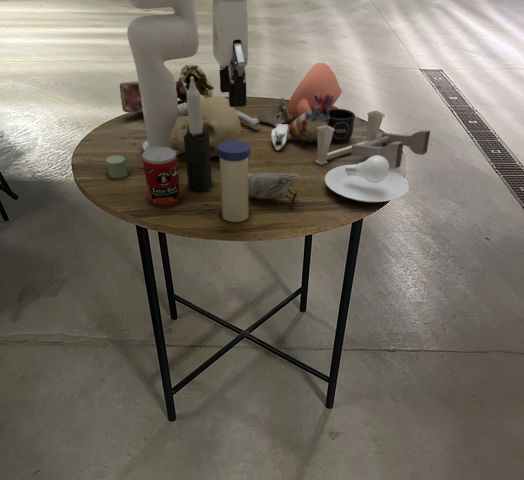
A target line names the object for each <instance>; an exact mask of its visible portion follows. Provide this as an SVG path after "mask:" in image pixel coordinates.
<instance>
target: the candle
mask: <svg viewBox="0 0 524 480" xmlns="http://www.w3.org/2000/svg"><path fill="white" fill-rule="evenodd" d="M190 80H191V81H190V86H189V90H188V92H187V102H186V103H187V104H188V115H187V116H189V124H188V127H189V128H190V129H189V130H187V131H186V134H185V135H184V145H185V152H184V154H185V155H184V156H185V163H186V175H187V184H188V186H187V187H188V190H190V191H197V192H198V191H199V192H202V193H203V192H204V193H205V192H207V191H209V190H210V188H212V186H213V179H212V178H213V177H212V162H211V161H212V160H211V157H210V142H209V133H208V132H206V130H204V129H202V118H201V104H200V93H199V91H198V90H197V89H196V86H195V83H194V77H192V76H191V77H190Z"/></svg>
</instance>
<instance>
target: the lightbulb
mask: <svg viewBox="0 0 524 480" xmlns="http://www.w3.org/2000/svg"><path fill="white" fill-rule="evenodd" d="M346 165H347V167H346V169H345V172H346V174H347V175H348V176H358V177H363V178H364V179H366V180H367V181H369V182H371V183H379V182H381V181H383V180H384V179H385V178H386V177H387V175H388V173H389V170H390V168H389V163H388V161H387V160H386V159H385V158H384V157H383V156H380V155H375V156H372V157H367V159H365V160H364V161H361V162H358V163H353V165H352V163H351V165H350V164H346Z"/></svg>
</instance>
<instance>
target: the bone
mask: <svg viewBox="0 0 524 480" xmlns="http://www.w3.org/2000/svg"><path fill="white" fill-rule="evenodd" d="M235 110H236V112H237V114H238V117H239V120H240V121H242V122H243V123H245V124H247V125H249V127H250V128H251V129H253V130H254V131H258V130H259V129H260V128H261V124H260V121H259V120H258V119H256V118H254V117H253V118H252V117H251V116H249V115H247V114H245V113H243V112H241V111H239V110H237V109H235Z"/></svg>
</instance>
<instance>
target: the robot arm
mask: <svg viewBox="0 0 524 480" xmlns="http://www.w3.org/2000/svg"><path fill="white" fill-rule="evenodd" d="M247 1H248V0H212V11H211V12H212V16H211V17H212V54H213V57H214V59H215V60H216V62H217V63H218V65H219V88H220V89H219V90H220V92H221V93H223V94H224V93H228V100H229V105H230V107H234V108H239V107H240V108H241V107H246V106H247V76H246V66H247V65H248V63H249V23H248V21H249V20H248V15H249V14H248V3H247ZM128 2H129V4H130V5H131V6H132V7H134V8H135V9H142V10H145V9H147V10H149V9H161V8H163V9H164V8H172V11H173V13H166V14H153V15H143V16H139V17H136V18H135V19H132V20H131V22H129V24H128V26H127V32H126V33H127V41H128V45H129V47H130V50H131V55H132V59H133V62H134V66H135V71H136V74H137V75H136V76H137V82H139V89H140V95H141V102H142V108H143V112H142V114H143V121H144V128H145V134H146V135H145V136H146V141H144V142H143V143H142V151H143V152H145V151H146V150H148V149H151V148H155V147H167V148H171V147H170V135H171V132H172V129H173V127H174V125H175V122H176V119H177V118H178V117H180V116H179V112H178V104H179V102H178V98H177V92H176V83H175V81H176V79H175V77H174V74H173V73H172V72H171V71H170V70H169V68H168V67H167V66H166V64H165V62H167V61H173V60H180V59H187V58H192V57H194V56H195V55H196V54H197V53H198V50H199V46H200V35H199V25H198V17H197V9H196V1H195V0H128ZM174 151H175V150H174ZM175 152H176V156H180V155H182V154H185V150H184V151H175Z"/></svg>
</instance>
